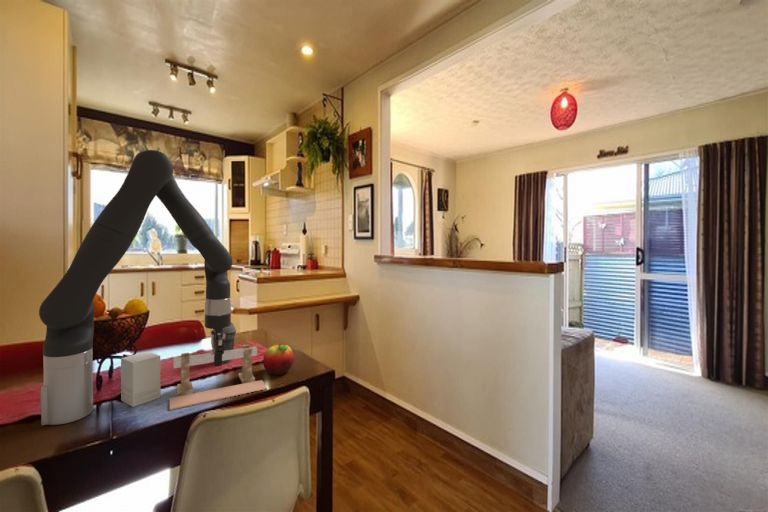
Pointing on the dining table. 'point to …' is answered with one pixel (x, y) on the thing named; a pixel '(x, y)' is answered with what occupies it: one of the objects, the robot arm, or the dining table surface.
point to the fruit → (278, 359)
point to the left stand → (185, 377)
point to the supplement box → (140, 378)
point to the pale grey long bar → (210, 357)
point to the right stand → (247, 366)
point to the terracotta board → (215, 394)
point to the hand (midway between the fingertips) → (217, 364)
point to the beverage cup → (229, 339)
